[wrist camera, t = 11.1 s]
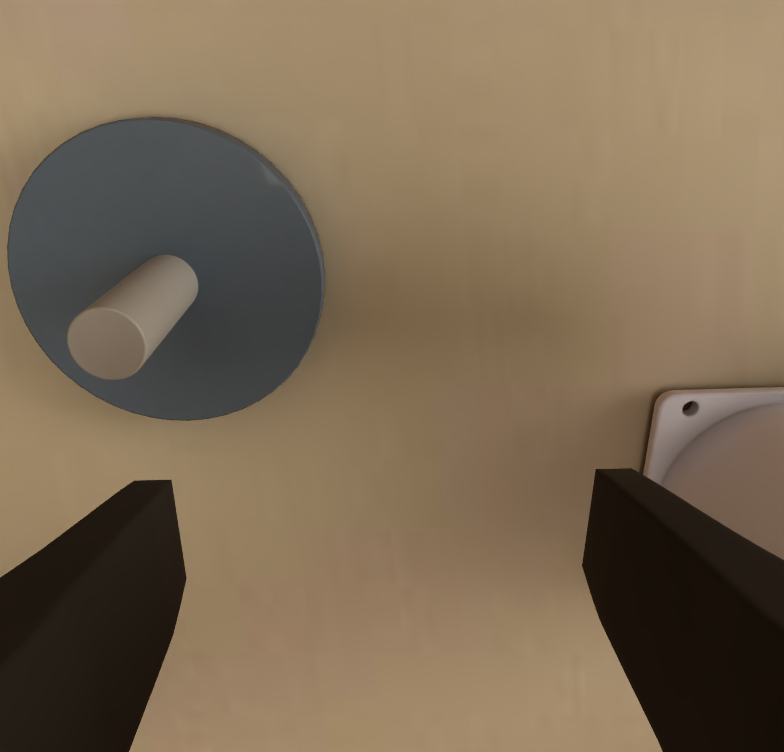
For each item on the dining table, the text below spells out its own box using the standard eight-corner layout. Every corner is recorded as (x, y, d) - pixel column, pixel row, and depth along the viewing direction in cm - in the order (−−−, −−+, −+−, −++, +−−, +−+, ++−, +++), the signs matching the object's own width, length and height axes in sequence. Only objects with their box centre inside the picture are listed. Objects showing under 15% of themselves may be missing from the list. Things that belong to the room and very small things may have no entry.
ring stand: (316, 114, 17) (299, 123, 12) (331, 402, 21) (322, 509, 15) (-10, 119, 17) (-179, 128, 12) (58, 410, 20) (-49, 523, 15)
